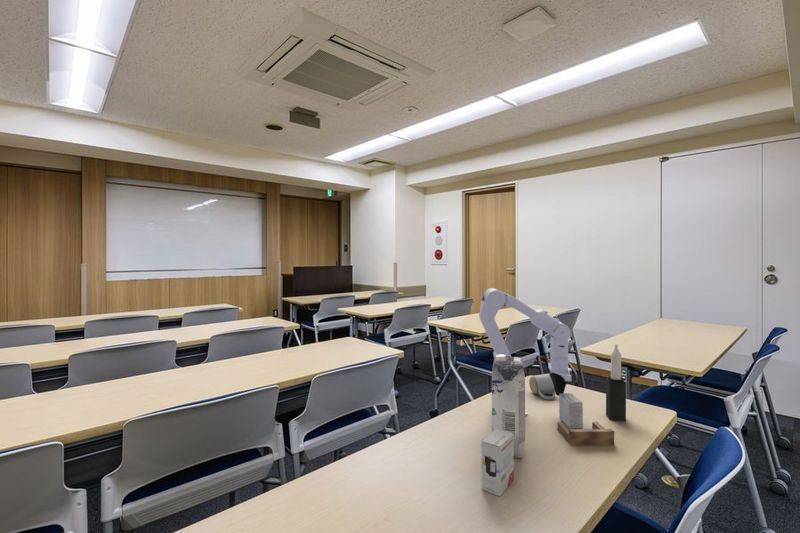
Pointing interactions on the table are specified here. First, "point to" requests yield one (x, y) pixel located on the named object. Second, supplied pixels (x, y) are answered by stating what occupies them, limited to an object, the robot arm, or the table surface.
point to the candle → (616, 390)
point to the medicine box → (571, 410)
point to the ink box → (497, 461)
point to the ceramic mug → (542, 386)
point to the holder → (587, 435)
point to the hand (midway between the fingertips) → (559, 394)
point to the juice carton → (509, 399)
